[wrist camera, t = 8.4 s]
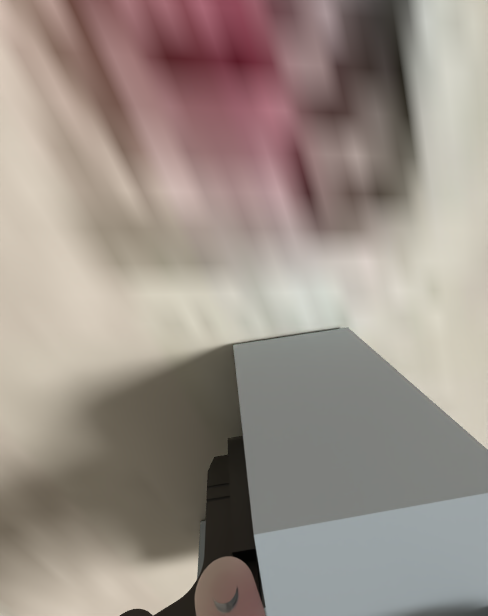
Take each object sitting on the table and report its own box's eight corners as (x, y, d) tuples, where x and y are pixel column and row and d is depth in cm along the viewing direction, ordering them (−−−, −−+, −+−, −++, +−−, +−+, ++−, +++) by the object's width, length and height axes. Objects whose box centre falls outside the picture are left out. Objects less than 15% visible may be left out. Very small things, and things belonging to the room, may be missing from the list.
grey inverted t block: (159, 355, 9) (69, 568, 4) (417, 317, 10) (689, 457, 4) (206, 544, 13) (196, 819, 7) (402, 509, 13) (546, 742, 7)
